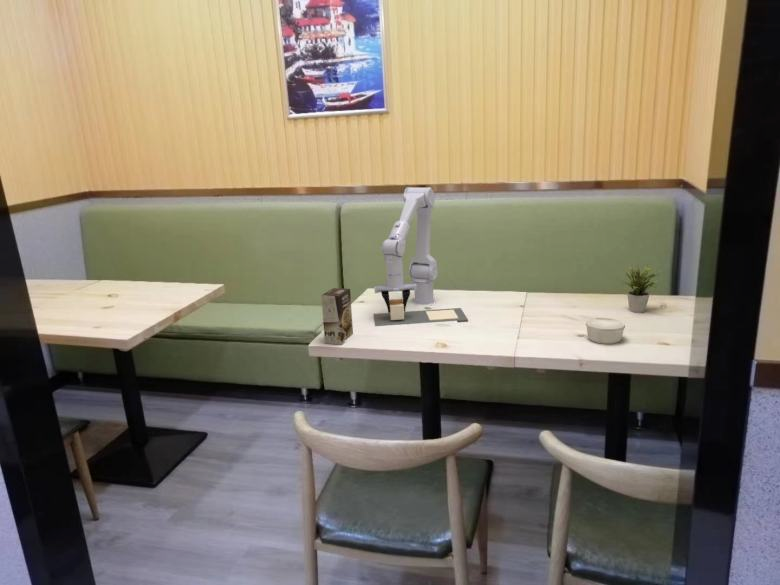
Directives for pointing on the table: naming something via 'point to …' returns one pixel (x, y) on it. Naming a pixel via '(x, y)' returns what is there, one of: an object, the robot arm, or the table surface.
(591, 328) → the ramekin
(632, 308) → the house plant
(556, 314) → the table surface
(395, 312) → the card box
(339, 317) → the coffee box
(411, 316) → the mat
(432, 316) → the pad
